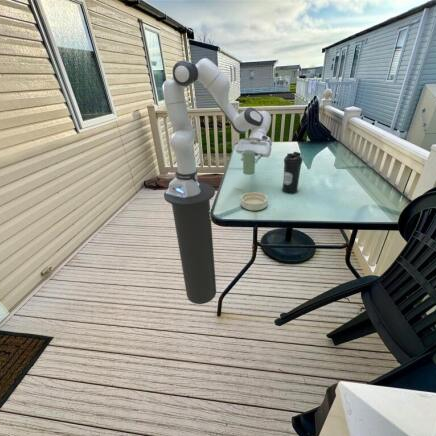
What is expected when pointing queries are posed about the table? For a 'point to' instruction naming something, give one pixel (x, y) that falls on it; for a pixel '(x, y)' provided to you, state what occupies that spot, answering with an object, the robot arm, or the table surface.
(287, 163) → the water bottle
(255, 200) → the bowl
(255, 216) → the table surface
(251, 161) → the tumbler
